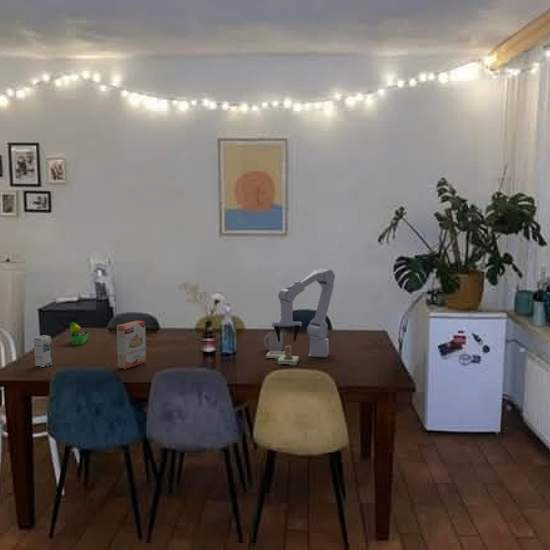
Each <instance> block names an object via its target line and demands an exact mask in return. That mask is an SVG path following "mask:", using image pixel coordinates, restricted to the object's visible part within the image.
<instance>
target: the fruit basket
mask: <svg viewBox="0 0 550 550" xmlns="http://www.w3.org/2000/svg"><path fill="white" fill-rule="evenodd" d="M69 328H70V333H71V334H70V335H69V337H70V340H71V342H72V345H74V346H76V345H79V346H80V345H84V344H85V343H86V342H87V341H88V338H89V334H90V331H85V330H81V325H78V324H77V323H76V322H71V323H70V326H69Z"/></svg>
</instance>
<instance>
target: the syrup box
mask: <svg viewBox="0 0 550 550" xmlns="http://www.w3.org/2000/svg"><path fill="white" fill-rule="evenodd" d="M33 346H34V347H33V349H34V350H33V351H34V362H35V363H34V364H35V365H36V366H41V367H45V366H47V367H50V366H49V365H51V366H53V365H52V364H53V350H52V337H51V335H46V334H43V335H39V336H35V337H33ZM36 366H35V367H36ZM41 367H40V368H41ZM45 368H46V367H45Z"/></svg>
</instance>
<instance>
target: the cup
mask: <svg viewBox="0 0 550 550" xmlns="http://www.w3.org/2000/svg"><path fill="white" fill-rule="evenodd" d="M267 339H268V340H267ZM267 341H268V342H267ZM263 345H264V347H266V348H268V350H270V351H281V350H282V351H283V333H282V332H281V331H280V342H278V337H277V334H276V331H271V332H269V333H268V334H266V335H265V336H264V338H263Z"/></svg>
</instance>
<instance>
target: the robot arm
mask: <svg viewBox="0 0 550 550" xmlns="http://www.w3.org/2000/svg"><path fill="white" fill-rule="evenodd" d="M335 279H336V275H335V273H334V271H333V270H332V269H326V268H325V269H324V268H321V267H316V268H315V269H313V270H312V271H311V273H310V274H308V275H307V276H306V277H305V278H303V279H302V280H300V281H299V280H297V281H296V280H295V281H294V282H293V283H292V284H291V285H288V286H287V287H286V288H282V289H280V291H279V292H278V295H277V296H278V299H279V303H280V321H277V322H271V327H272V328H274V332H276V334H277V337H278V342H280V332H281V327H293V337H292V338H293V341H294V342H296V341H297V336H298V334H299V331H300V330H301V327H302V326H303V322H302V321H294V320H293V319H294V318H293V316H294V315H293V313H294V312H293V305H294V304H293V302H294V300H295V299H296V297H297V296H298V295H300V294H301V293H303V292H304V291H305V288H306V287H307V286H309V285H311V284H313V283H314V282H317V283H318V284H319V285H320V287H321V292H320V295H319V299H318V303H317V307H316V310H315V311H316V312H315V315H314V317H313V318H312V319H311V320H310V321H309V324H308V325H307V327H306V333H307V335H308V337H309V353H308V355H307V357H314V358H315V357H316V358H319V357H320V358H328V356H329V354H330V353H329V351H330V350H329V338H326V337H327V336H328V326H329V325H328V323H327V322H326V318H327V314H328V311H329V306H330V302H331V298H332V294H333V291H334V287H335V286H334V282H335Z"/></svg>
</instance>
